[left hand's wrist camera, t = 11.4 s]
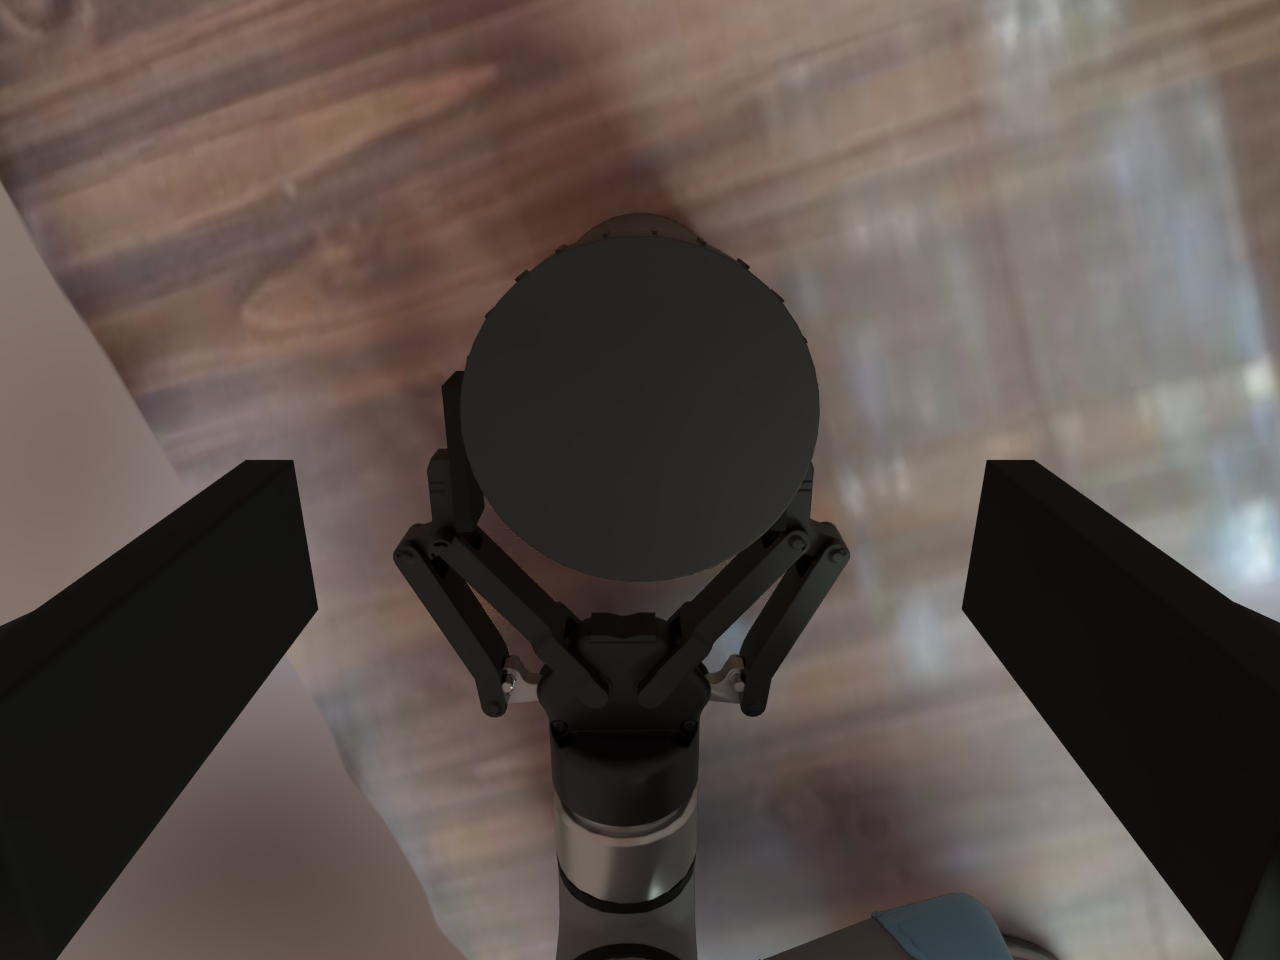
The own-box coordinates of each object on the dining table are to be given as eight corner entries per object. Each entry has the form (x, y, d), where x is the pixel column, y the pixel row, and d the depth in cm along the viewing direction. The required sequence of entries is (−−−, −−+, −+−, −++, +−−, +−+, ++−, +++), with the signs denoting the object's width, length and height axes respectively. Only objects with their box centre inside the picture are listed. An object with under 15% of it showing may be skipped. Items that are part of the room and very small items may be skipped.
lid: (560, 161, 19) (550, 159, 17) (868, 327, 20) (893, 344, 18) (426, 466, 22) (404, 496, 20) (704, 593, 23) (711, 633, 21)
